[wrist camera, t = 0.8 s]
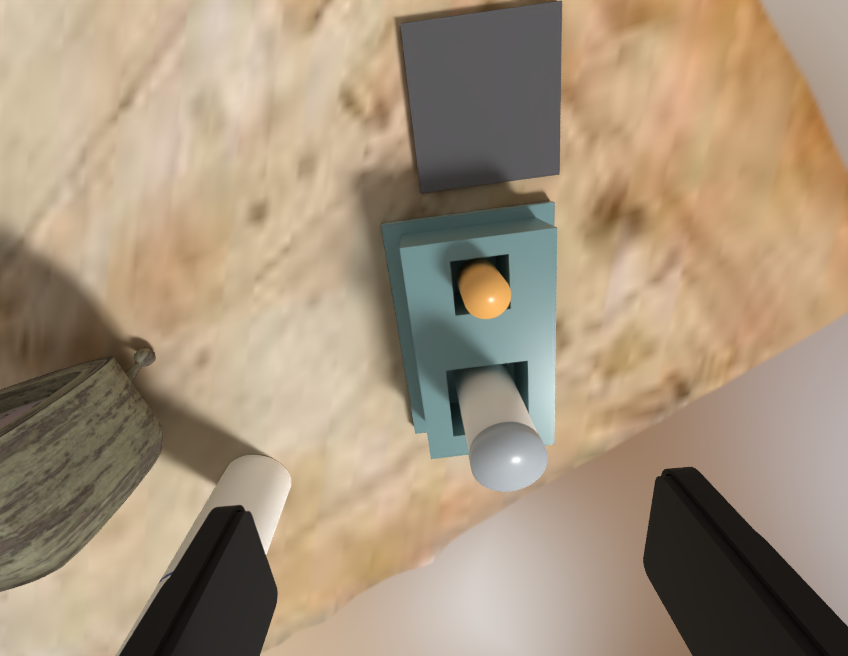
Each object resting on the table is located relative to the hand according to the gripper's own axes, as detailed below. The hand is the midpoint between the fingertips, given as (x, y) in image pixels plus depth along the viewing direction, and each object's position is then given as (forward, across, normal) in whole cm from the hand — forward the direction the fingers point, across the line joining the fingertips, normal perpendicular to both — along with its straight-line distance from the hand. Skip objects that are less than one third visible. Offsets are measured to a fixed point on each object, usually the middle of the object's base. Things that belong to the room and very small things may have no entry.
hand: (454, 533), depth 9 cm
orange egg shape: (+23, -4, 0) cm, 23 cm away
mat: (+26, -5, -12) cm, 30 cm away
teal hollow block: (+27, -4, +6) cm, 28 cm away
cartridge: (+26, -4, +10) cm, 28 cm away
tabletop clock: (+27, +31, +9) cm, 42 cm away
